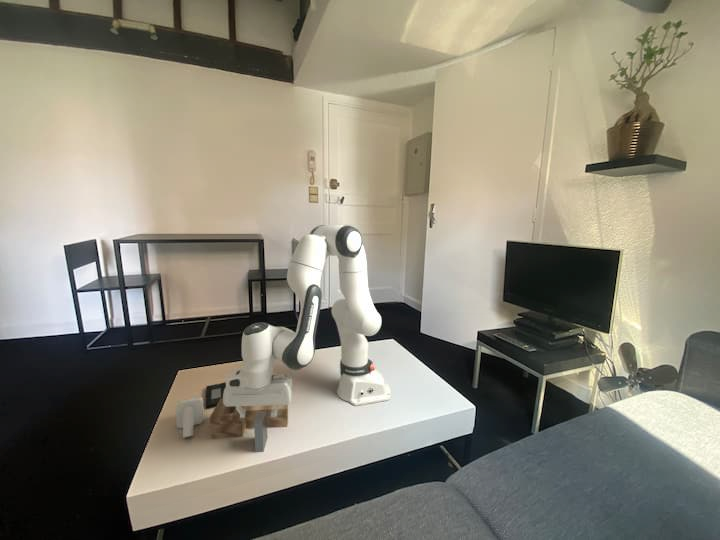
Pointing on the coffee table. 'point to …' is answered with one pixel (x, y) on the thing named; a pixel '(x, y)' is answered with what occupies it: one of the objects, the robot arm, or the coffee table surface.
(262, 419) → the grey wood block
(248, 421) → the slotted wooden socket block
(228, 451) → the coffee table surface
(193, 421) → the wall hook
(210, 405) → the vhs tape
